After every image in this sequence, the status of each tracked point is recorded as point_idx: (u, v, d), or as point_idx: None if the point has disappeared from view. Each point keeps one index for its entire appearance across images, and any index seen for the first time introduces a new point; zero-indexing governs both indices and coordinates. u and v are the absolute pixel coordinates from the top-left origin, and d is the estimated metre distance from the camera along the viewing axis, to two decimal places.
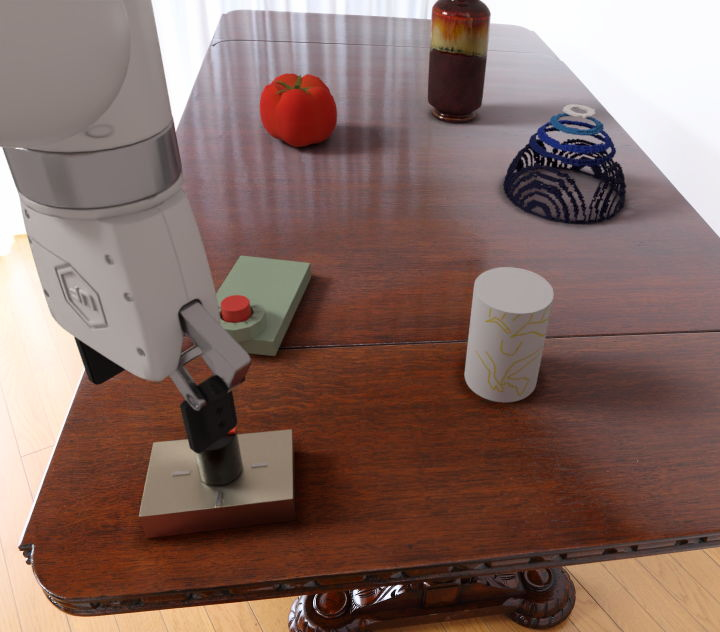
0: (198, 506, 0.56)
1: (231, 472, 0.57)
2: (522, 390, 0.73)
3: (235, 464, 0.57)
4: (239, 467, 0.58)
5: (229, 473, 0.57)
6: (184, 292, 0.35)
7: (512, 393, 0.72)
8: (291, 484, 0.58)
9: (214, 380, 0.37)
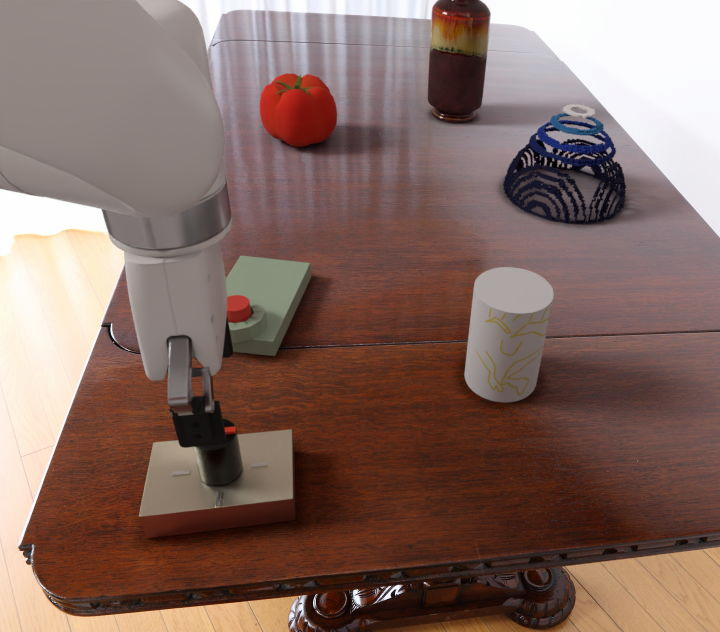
0: (198, 506, 0.56)
1: (231, 472, 0.57)
2: (522, 390, 0.73)
3: (235, 464, 0.57)
4: (239, 467, 0.58)
5: (229, 473, 0.57)
6: (174, 327, 0.43)
7: (512, 393, 0.72)
8: (291, 484, 0.58)
9: None
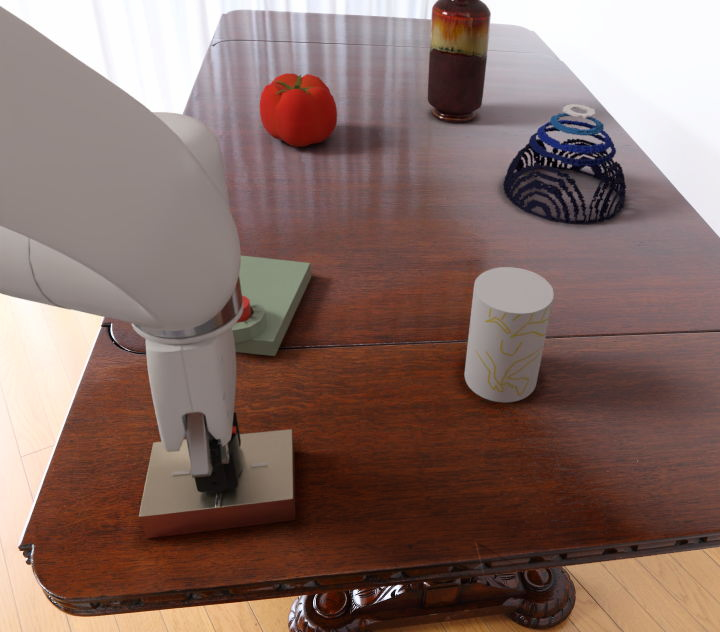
0: (198, 506, 0.56)
1: None
2: (522, 390, 0.73)
3: (235, 464, 0.57)
4: (239, 467, 0.58)
5: None
6: (190, 405, 0.47)
7: (512, 393, 0.72)
8: (291, 484, 0.58)
9: None
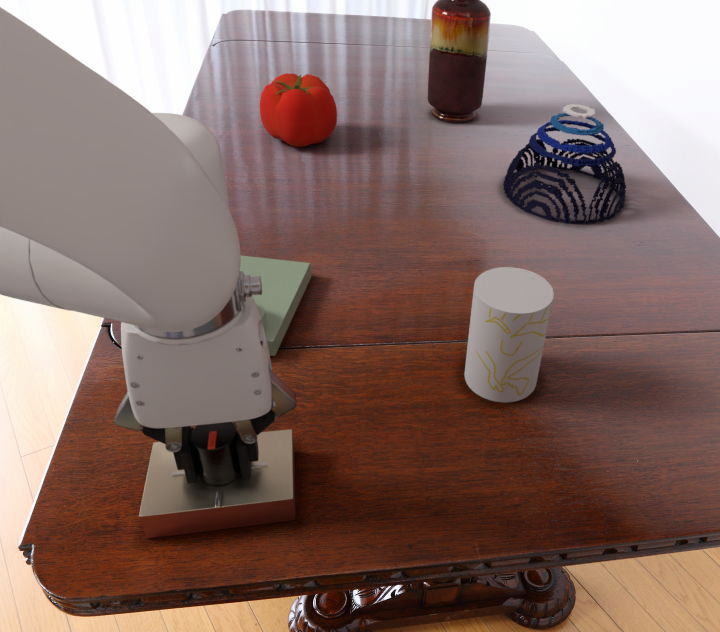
0: (198, 506, 0.56)
1: (200, 472, 0.57)
2: (522, 390, 0.73)
3: (202, 470, 0.56)
4: (209, 479, 0.57)
5: (199, 471, 0.57)
6: None
7: (512, 393, 0.72)
8: (291, 484, 0.58)
9: None
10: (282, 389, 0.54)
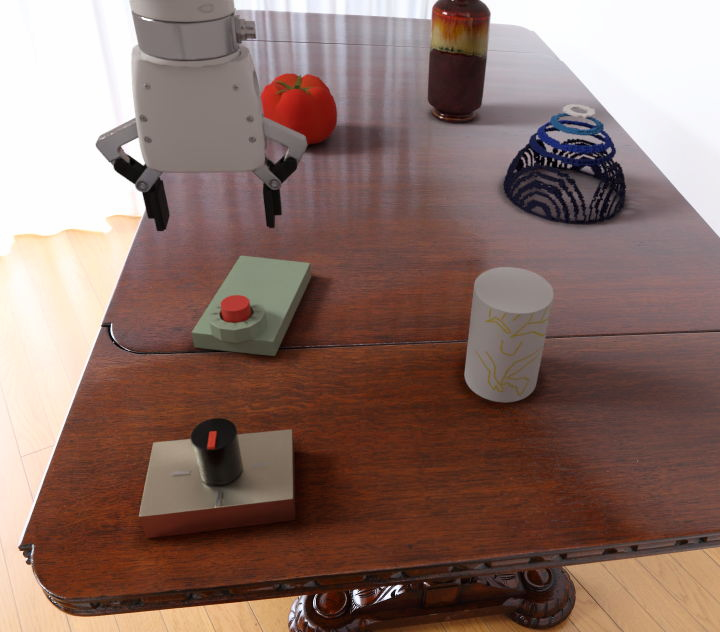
0: (198, 506, 0.56)
1: (199, 472, 0.57)
2: (522, 390, 0.73)
3: (202, 470, 0.57)
4: (208, 479, 0.57)
5: (199, 471, 0.57)
6: None
7: (512, 393, 0.72)
8: (291, 484, 0.58)
9: None
10: (285, 131, 0.60)
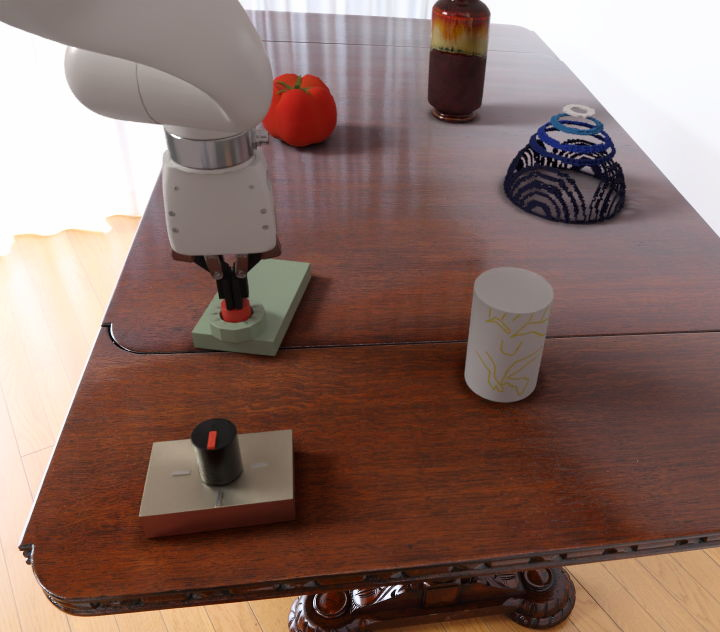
0: (198, 506, 0.56)
1: (199, 472, 0.57)
2: (522, 390, 0.73)
3: (202, 470, 0.57)
4: (208, 479, 0.57)
5: (199, 471, 0.57)
6: None
7: (512, 393, 0.72)
8: (291, 484, 0.58)
9: None
10: (275, 237, 0.70)
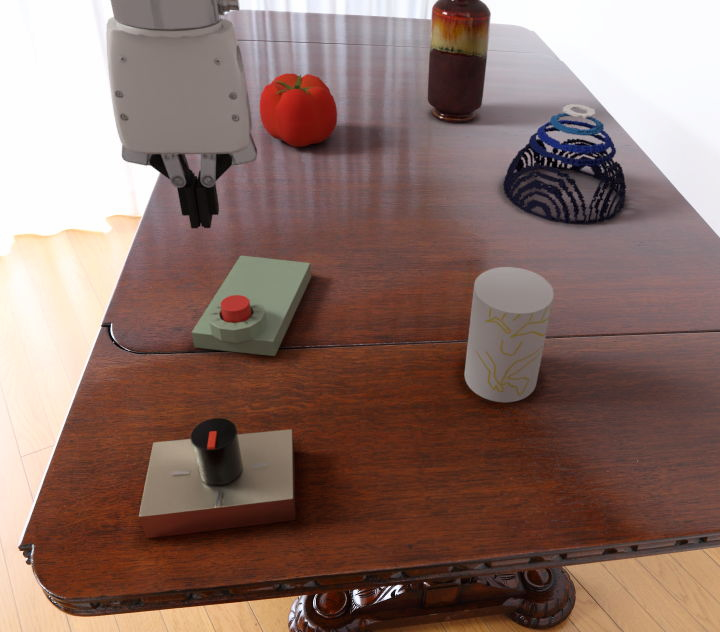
0: (198, 506, 0.56)
1: (199, 472, 0.57)
2: (522, 390, 0.73)
3: (202, 470, 0.57)
4: (208, 479, 0.57)
5: (199, 471, 0.57)
6: None
7: (512, 393, 0.72)
8: (291, 484, 0.58)
9: None
10: (249, 135, 0.58)
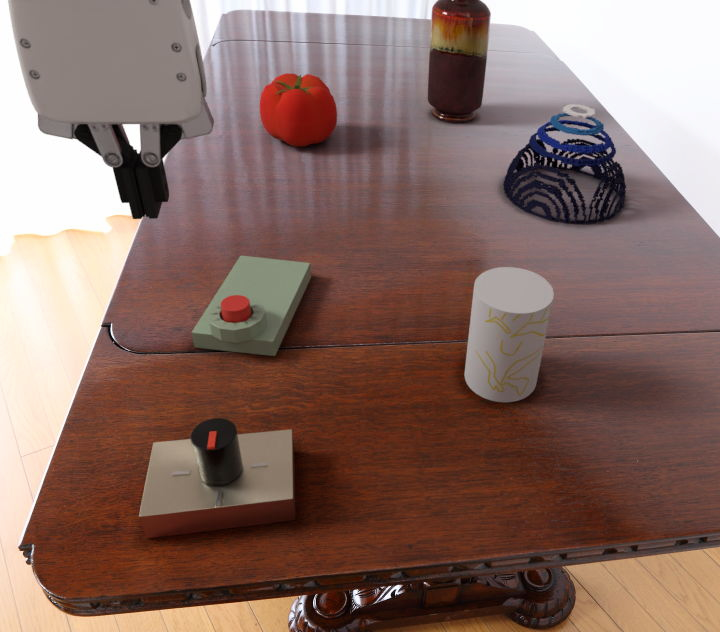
0: (198, 506, 0.56)
1: (199, 472, 0.57)
2: (522, 390, 0.73)
3: (202, 470, 0.57)
4: (208, 479, 0.57)
5: (199, 471, 0.57)
6: None
7: (512, 393, 0.72)
8: (291, 484, 0.58)
9: None
10: (202, 101, 0.45)
